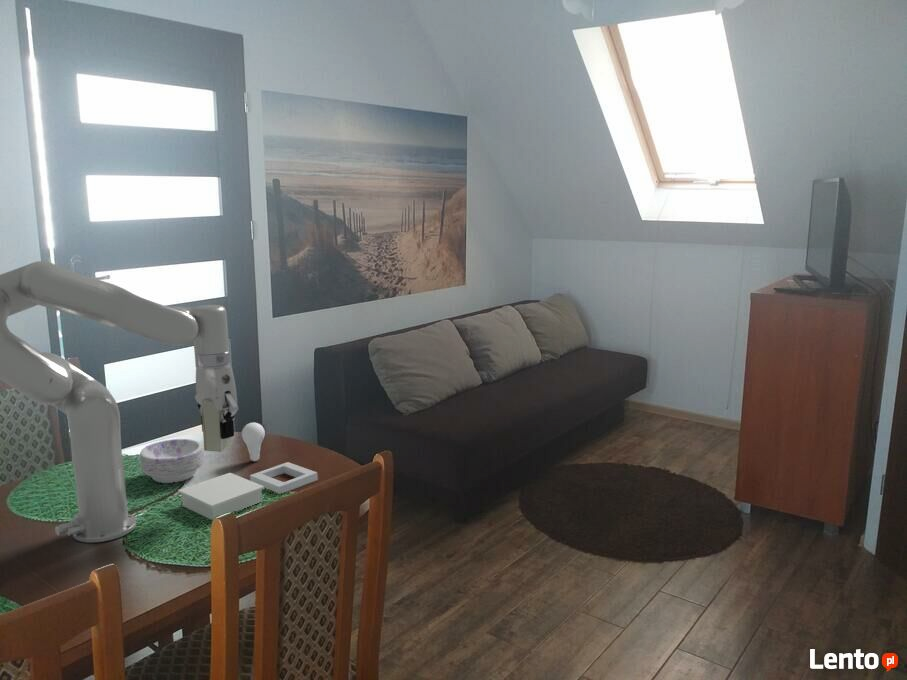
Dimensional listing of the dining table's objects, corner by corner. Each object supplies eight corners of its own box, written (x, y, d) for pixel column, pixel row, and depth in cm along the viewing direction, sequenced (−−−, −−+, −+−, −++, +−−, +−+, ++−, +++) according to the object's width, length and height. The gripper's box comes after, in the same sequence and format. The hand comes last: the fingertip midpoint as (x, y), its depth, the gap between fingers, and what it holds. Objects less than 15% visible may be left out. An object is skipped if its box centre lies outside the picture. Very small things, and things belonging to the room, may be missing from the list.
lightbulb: (255, 455, 203) (253, 418, 200) (271, 459, 200) (268, 421, 197) (238, 462, 197) (236, 424, 195) (254, 466, 194) (252, 427, 192)
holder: (279, 494, 176) (279, 486, 176) (250, 482, 183) (249, 475, 183) (317, 479, 185) (317, 472, 185) (288, 469, 193) (287, 462, 192)
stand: (213, 522, 161) (211, 505, 160) (179, 505, 170) (178, 489, 169) (265, 502, 172) (264, 486, 171) (230, 487, 180) (230, 472, 179)
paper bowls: (163, 493, 177) (160, 462, 176) (130, 479, 186) (128, 449, 185) (216, 474, 189) (214, 445, 188) (183, 462, 198) (181, 434, 197)
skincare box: (215, 442, 171) (212, 392, 169) (233, 443, 171) (230, 393, 168) (203, 451, 165) (200, 400, 163) (221, 452, 165) (218, 401, 162)
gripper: (249, 361, 161) (254, 437, 165) (205, 351, 172) (211, 423, 176) (219, 367, 156) (225, 446, 159) (176, 357, 166) (183, 431, 170)
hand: (218, 433), depth 167 cm, fingers closed on skincare box, 6 cm apart
